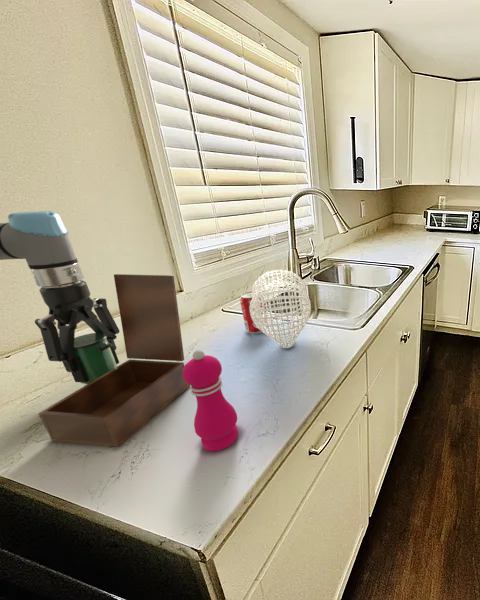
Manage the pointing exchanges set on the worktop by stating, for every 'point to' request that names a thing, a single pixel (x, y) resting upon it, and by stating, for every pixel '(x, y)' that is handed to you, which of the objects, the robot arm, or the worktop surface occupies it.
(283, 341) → the heart
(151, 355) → the lid
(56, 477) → the worktop surface
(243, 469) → the worktop surface
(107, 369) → the green pot
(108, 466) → the worktop surface
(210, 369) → the pepper mill
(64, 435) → the chest
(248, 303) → the soda can
